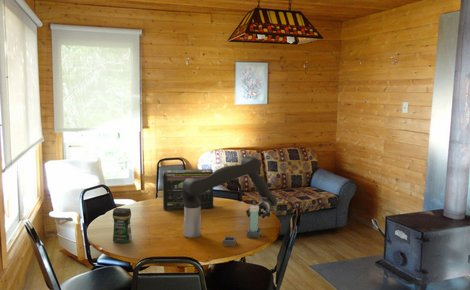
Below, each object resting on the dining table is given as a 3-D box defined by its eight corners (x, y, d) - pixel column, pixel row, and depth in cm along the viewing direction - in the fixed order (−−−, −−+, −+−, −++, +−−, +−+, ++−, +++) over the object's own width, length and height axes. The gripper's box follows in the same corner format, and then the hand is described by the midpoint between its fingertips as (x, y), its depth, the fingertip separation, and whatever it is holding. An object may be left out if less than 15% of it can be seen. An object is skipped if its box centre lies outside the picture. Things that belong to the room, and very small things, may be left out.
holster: (222, 245, 225) (222, 240, 224) (224, 241, 231) (224, 236, 230) (234, 246, 224) (234, 241, 223) (236, 242, 230) (236, 237, 230)
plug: (249, 234, 239) (250, 201, 237) (251, 232, 243) (251, 199, 241) (256, 235, 238) (257, 202, 235) (258, 233, 242) (259, 200, 239)
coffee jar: (110, 242, 227) (110, 209, 224) (117, 237, 234) (116, 205, 232) (127, 244, 225) (127, 210, 223) (133, 239, 233) (132, 206, 231)
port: (247, 237, 238) (247, 231, 237) (248, 233, 244) (248, 227, 244) (259, 238, 237) (259, 232, 236) (260, 234, 244) (260, 228, 243)
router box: (212, 204, 305) (212, 168, 301) (213, 209, 294) (214, 171, 290) (162, 206, 299) (162, 169, 295) (162, 210, 288) (162, 172, 284)
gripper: (251, 201, 259) (244, 208, 243) (273, 203, 254) (267, 210, 239) (251, 213, 260) (243, 220, 244) (273, 215, 255) (267, 223, 240)
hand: (255, 216), depth 242 cm, fingers open, 8 cm apart
